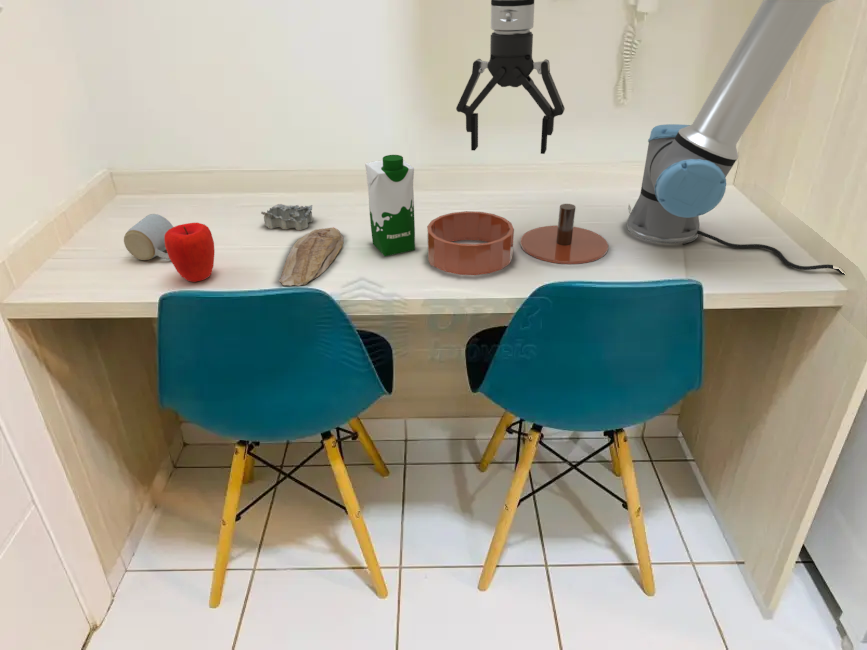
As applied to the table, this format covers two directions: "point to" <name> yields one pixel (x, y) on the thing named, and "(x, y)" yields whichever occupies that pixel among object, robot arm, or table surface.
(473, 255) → the pot
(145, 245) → the ceramic mug
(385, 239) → the milk carton
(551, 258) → the lid
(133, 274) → the table surface
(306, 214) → the egg carton
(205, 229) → the apple
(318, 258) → the fish fossil
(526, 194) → the table surface
